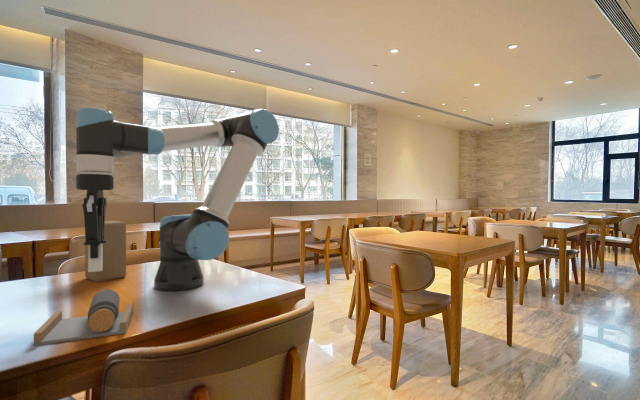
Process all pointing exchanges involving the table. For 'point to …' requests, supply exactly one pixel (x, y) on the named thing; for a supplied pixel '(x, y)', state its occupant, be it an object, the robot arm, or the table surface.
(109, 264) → the wooden block
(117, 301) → the bottle
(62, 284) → the table surface
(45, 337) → the grey tray
